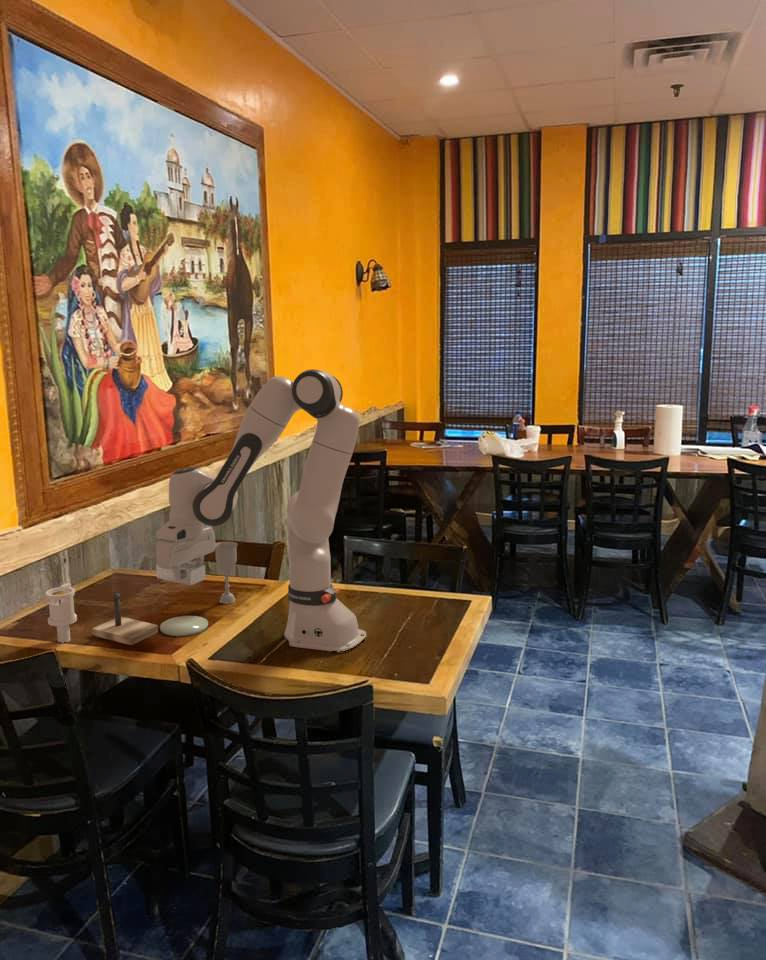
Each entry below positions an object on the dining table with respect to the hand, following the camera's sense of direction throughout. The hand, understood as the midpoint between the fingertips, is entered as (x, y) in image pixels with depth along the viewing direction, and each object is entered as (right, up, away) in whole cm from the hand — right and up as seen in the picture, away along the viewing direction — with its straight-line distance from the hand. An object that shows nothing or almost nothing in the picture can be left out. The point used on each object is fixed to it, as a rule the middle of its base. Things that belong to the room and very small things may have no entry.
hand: (188, 575), depth 208 cm
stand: (-17, -16, -1) cm, 23 cm away
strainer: (-32, -17, -6) cm, 36 cm away
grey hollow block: (-2, -1, +1) cm, 3 cm away
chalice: (+6, -11, +24) cm, 27 cm away
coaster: (-2, -15, +4) cm, 16 cm away
